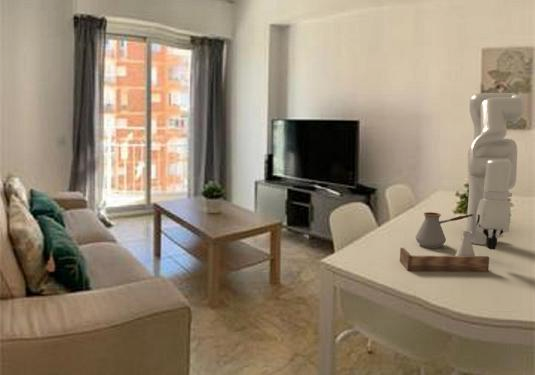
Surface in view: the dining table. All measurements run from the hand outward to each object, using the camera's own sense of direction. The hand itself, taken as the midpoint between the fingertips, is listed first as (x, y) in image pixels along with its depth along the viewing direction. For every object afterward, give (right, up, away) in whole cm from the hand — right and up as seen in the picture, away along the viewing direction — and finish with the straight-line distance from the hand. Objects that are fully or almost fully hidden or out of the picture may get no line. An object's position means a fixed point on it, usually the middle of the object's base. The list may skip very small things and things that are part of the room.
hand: (490, 248), depth 162 cm
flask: (-8, -4, +2) cm, 9 cm away
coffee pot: (-8, -3, +23) cm, 24 cm away
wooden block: (-16, -6, +1) cm, 18 cm away
